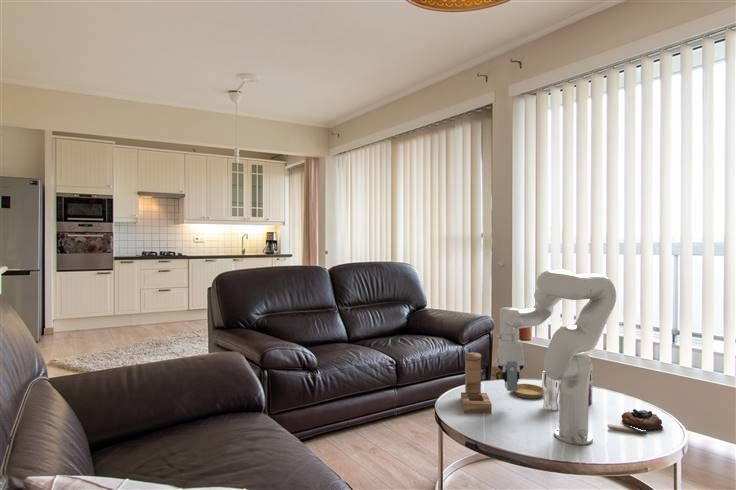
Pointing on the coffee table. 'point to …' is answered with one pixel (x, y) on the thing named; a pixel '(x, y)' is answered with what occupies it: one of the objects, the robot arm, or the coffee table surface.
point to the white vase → (550, 392)
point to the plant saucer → (529, 391)
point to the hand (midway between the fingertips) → (510, 380)
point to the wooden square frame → (474, 387)
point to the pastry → (642, 420)
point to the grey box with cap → (511, 376)
